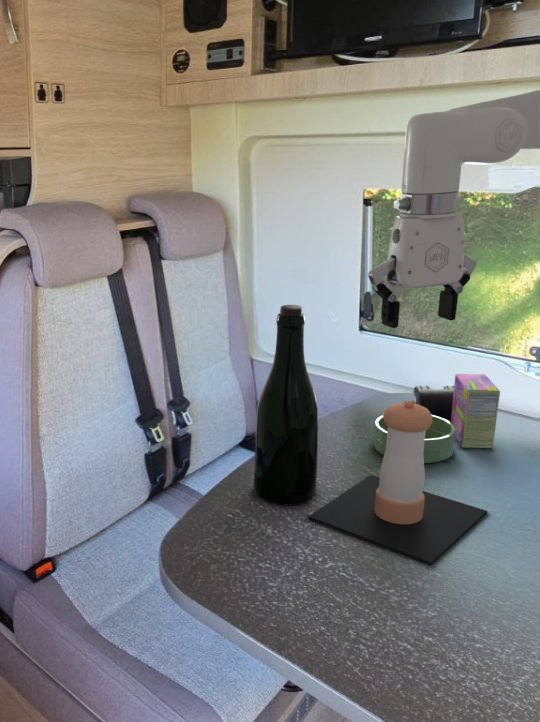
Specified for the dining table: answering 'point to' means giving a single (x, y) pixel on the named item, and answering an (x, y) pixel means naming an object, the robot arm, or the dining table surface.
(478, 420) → the box
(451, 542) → the mat
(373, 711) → the dining table surface
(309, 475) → the dark green wine bottle
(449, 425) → the bowl
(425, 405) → the end cap
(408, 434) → the pepper shaker
